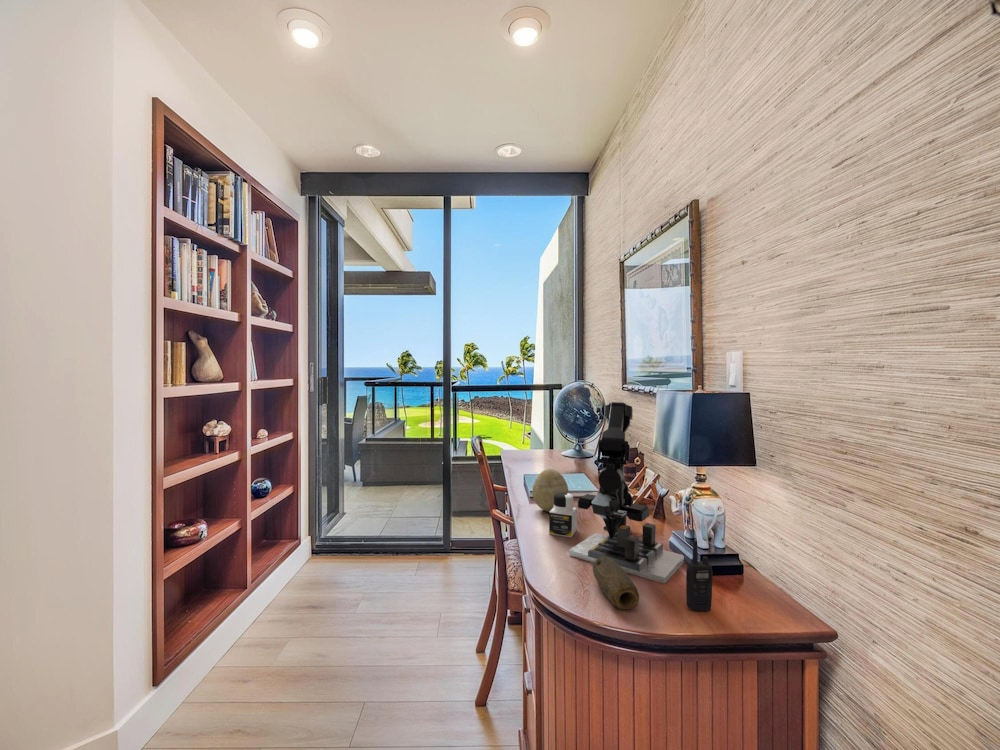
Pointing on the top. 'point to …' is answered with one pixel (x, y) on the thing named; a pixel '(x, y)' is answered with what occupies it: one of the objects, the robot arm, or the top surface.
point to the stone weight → (615, 583)
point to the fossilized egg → (548, 488)
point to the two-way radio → (698, 582)
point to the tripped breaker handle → (622, 535)
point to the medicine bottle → (563, 516)
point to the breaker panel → (649, 571)
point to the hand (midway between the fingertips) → (611, 537)
